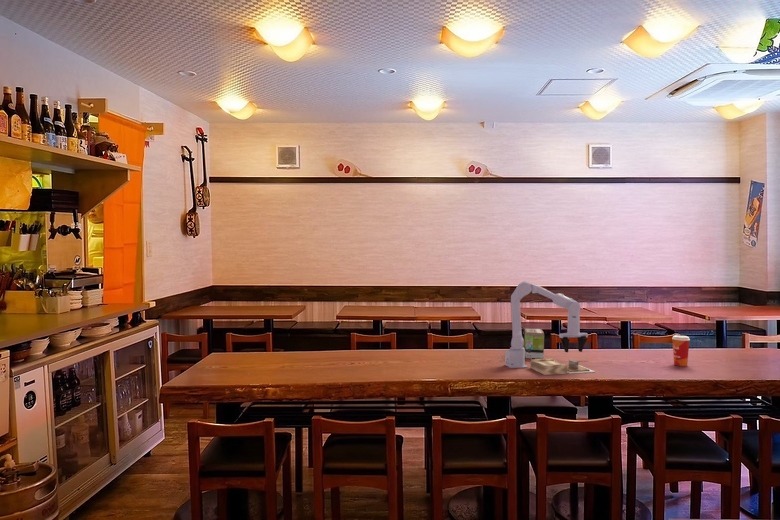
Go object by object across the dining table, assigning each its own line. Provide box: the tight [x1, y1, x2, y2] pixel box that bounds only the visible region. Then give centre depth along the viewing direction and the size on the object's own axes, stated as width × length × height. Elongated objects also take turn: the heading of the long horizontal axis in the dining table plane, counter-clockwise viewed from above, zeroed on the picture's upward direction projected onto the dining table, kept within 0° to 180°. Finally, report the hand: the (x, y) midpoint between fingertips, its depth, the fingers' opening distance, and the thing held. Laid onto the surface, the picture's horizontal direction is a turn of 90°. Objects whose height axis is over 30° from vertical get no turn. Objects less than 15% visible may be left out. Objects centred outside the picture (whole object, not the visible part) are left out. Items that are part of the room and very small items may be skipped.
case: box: [530, 358, 568, 376], centre depth 249 cm, size 12×14×4 cm
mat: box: [567, 364, 596, 374], centre depth 251 cm, size 14×14×1 cm
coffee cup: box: [671, 334, 691, 367], centre depth 261 cm, size 8×8×15 cm
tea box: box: [523, 328, 545, 360], centre depth 284 cm, size 15×10×15 cm, turn 168°
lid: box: [566, 359, 591, 372], centre depth 251 cm, size 11×11×4 cm
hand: (573, 351), depth 251 cm, fingers open, 7 cm apart
